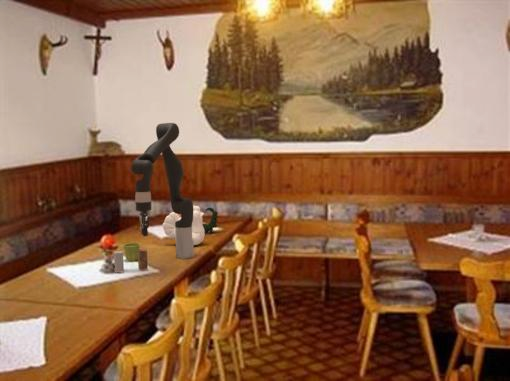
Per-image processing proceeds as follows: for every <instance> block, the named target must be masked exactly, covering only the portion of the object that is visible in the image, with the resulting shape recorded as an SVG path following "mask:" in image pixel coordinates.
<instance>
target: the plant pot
mask: <svg viewBox="0 0 510 381" xmlns="http://www.w3.org/2000/svg"><path fill="white" fill-rule="evenodd" d="M140 246H141V243H139V242H128V243H124V244H122V247H123V249H124V254H125V258H126V261H127V260H128V261H127V262H134V261H136V260H137V261H138V250H139V249H140V248H141V247H140Z"/></svg>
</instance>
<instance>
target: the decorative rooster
mask: <svg viewBox="0 0 510 381" xmlns="http://www.w3.org/2000/svg"><path fill="white" fill-rule="evenodd" d="M179 215H180V214H176V213H174V212H173V211H172V212H170V213H169V215H167V216H166V217H165V219H164V220H163V221H164V222H163V223H162V228H163V231H164V234H165V235H166V236H168V237H169V238H170V239H175V240H176V234H175V222H176V221H179V220H180V219H181V216H179ZM204 215H205V213H204V212H202V211H201V207H200V206H199V205H194V204H193V222H192V240H193V245H194V246H197V245H200V244H201V243H202V242H203V241H204V238H205V235H206V234H205V233H204V231H205V230H204V227H203V225H202V224H204V223H203V216H204Z"/></svg>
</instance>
